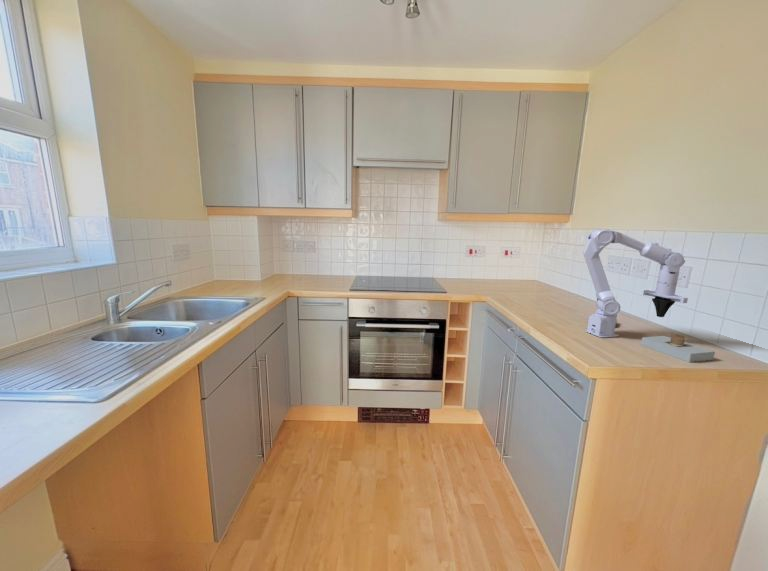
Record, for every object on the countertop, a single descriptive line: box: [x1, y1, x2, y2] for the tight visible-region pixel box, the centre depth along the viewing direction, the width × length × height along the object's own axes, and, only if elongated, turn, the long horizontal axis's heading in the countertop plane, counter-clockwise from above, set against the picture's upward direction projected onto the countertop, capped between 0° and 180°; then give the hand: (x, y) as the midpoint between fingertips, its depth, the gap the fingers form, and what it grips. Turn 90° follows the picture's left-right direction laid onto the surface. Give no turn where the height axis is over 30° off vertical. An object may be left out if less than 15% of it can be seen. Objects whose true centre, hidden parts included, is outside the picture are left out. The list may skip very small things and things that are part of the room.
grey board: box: [640, 335, 716, 363], centre depth 114 cm, size 11×16×3 cm
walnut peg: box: [670, 334, 686, 347], centre depth 113 cm, size 4×4×6 cm
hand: (660, 316), depth 124 cm, fingers closed
